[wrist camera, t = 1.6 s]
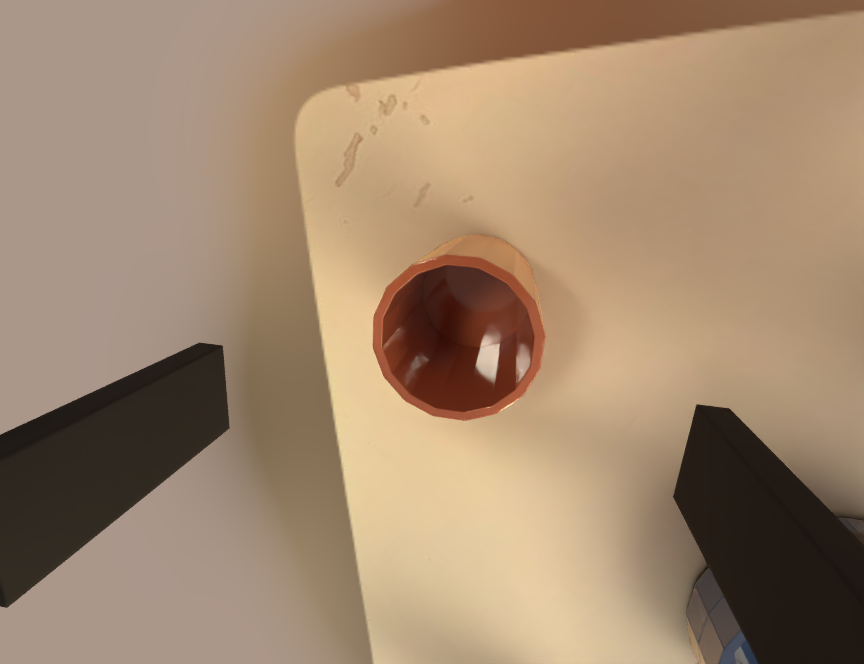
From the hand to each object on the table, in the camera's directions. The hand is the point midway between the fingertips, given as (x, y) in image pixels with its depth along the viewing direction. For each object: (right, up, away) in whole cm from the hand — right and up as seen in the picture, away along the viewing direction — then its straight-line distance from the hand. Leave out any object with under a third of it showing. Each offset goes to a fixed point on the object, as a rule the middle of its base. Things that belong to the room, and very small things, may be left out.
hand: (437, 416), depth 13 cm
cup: (+2, +5, +14) cm, 15 cm away
